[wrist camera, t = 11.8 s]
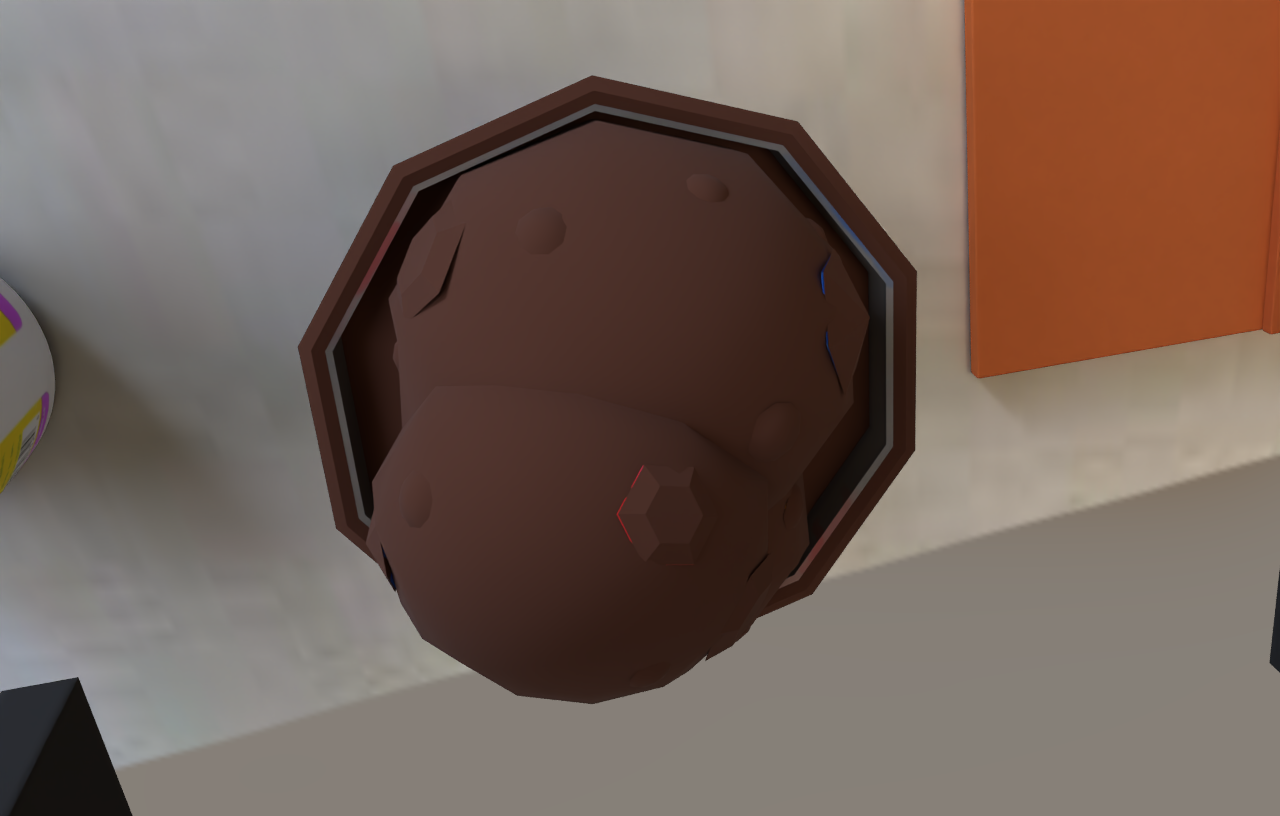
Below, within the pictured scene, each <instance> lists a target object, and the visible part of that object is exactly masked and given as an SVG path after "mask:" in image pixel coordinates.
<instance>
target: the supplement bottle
mask: <svg viewBox="0 0 1280 816" xmlns="http://www.w3.org/2000/svg"><path fill="white" fill-rule="evenodd" d="M54 395H55V373H54V366H53V361H52V355H51V352H50V349H49V346H48V343H47V340H46V338H45V336H44V334H43V332H42V329H41V327H40V325H39V324H38V322H37V320H36V318H35V317H34V315H33V314H32V312H31V310H30V309H29V308H28V306H27V305H26V303H25V302H24V301H23V300H22V299H21V297H20V296H19V295H18V294H17V293H16V292H15V291H14V290H13V289H12V288H11V287H10V286H9V285H8V284H7V283H6V282H5V281H4V280H3V279H2V278H0V493H1V492H2V491H3V490H4V488H5V487H6V486H7V485H8V483H9V482H10V481H11V479H12V478H13V477H14V476H15V475H16V473H17V472H18V471H19V470H20V468H21V467H22V466H23V464H24V463H25V462H26V460H27V459H28V457H29V456H30V454H31V453H32V451H33V450H34V449H35V447H36V446H37V444H38V442H39V441H40V439H41V437H42V436H43V434H44V431H45V429H46V427H47V424H48V422H49V419H50V416H51V412H52V408H53V403H54Z"/></svg>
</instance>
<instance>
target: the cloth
mask: <svg viewBox="0 0 1280 816" xmlns="http://www.w3.org/2000/svg"><path fill="white" fill-rule="evenodd" d="M965 55H966V109H967V164H968V218H969V273H970V328H971V372H972V374H974V375H975V376H976V377H977V378H984V377H990V376H996V375H1002V374H1007V373H1013V372H1019V371H1025V370H1030V369H1036V368H1042V367H1048V366H1053V365H1059V364H1065V363H1071V362H1076V361H1082V360H1088V359H1094V358H1099V357H1105V356H1111V355H1117V354H1122V353H1128V352H1134V351H1140V350H1145V349H1151V348H1157V347H1163V346H1168V345H1174V344H1180V343H1186V342H1192V341H1197V340H1203V339H1209V338H1215V337H1220V336H1226V335H1232V334H1238V333H1243V332H1249V331H1255V330H1261V329H1263V331H1265V332H1267V333H1269V334H1275V333H1280V0H965Z"/></svg>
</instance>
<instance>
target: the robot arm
mask: <svg viewBox="0 0 1280 816" xmlns="http://www.w3.org/2000/svg"><path fill="white" fill-rule="evenodd" d="M1270 664H1271V665H1273V666H1274V668H1276V669H1277V670H1278V671H1279V672H1280V572H1279V581H1278V590H1277V599H1276V609H1275V617H1274V627H1273V636H1272V646H1271V654H1270ZM0 816H132V813H131V811H130V808H129V806H128V803H127V801H126V798H125V796H124V793H123V790H122V788H121V785H120V783H119V780H118V778H117V775H116V773H115V770H114V767H113V765H112V762H111V760H110V757H109V755H108V752H107V750H106V747H105V744H104V742H103V739H102V737H101V734H100V732H99V729H98V727H97V724H96V722H95V719H94V716H93V714H92V711H91V709H90V706H89V704H88V701H87V699H86V696H85V693H84V691H83V688H82V686H81V683H80V681H79V678H78V677H77V678H72V679H66V680H61V681H55V682H50V683H44V684H39V685H33V686H28V687H22V688H17V689H11V690H6V691H2V692H1V693H0Z"/></svg>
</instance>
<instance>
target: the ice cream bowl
mask: <svg viewBox="0 0 1280 816" xmlns="http://www.w3.org/2000/svg"><path fill="white" fill-rule="evenodd" d="M916 299H917V271H916V270H915V269H914V267H913V266H912V265H911V264H910V262H909V261H908V260H907V258H906V257H905V256H904V255H903V253H902V252H901V251H900V250H899V248H898V247H897V246H896V245H895V243H894V242H893V241H892V240H891V238H890V237H889V236H888V235H887V233H886V232H885V231H884V229H883V228H882V227H881V226H880V224H879V223H878V222H877V221H876V219H875V218H874V217H873V216H872V214H871V213H870V212H869V211H868V209H867V208H866V207H865V206H864V204H863V203H862V202H861V200H860V199H859V198H858V197H857V195H856V194H855V193H854V192H853V190H852V189H851V188H850V187H849V185H848V184H847V183H846V182H845V180H844V179H843V178H842V177H841V175H840V174H839V173H838V171H837V170H836V169H835V168H834V166H833V165H832V164H831V163H830V161H829V160H828V159H827V158H826V156H825V155H824V154H823V153H822V151H821V150H820V149H819V148H818V146H817V145H816V144H815V142H814V141H813V140H812V139H811V137H810V136H809V135H808V134H807V132H806V131H805V130H804V129H803V127H802V126H801V125H800V124H799V122H797V121H793V120H788V119H784V118H779V117H775V116H770V115H766V114H762V113H757V112H753V111H748V110H744V109H739V108H735V107H730V106H726V105H722V104H717V103H713V102H708V101H704V100H699V99H695V98H690V97H686V96H681V95H677V94H673V93H668V92H664V91H659V90H655V89H650V88H646V87H641V86H637V85H633V84H628V83H624V82H619V81H615V80H610V79H606V78H601V77H597V76H590V77H587V78H585V79H583V80H581V81H579V82H576V83H574V84H572V85H570V86H568V87H565V88H563V89H561V90H559V91H557V92H554V93H552V94H550V95H548V96H546V97H543V98H541V99H539V100H537V101H535V102H532V103H530V104H528V105H526V106H524V107H521V108H519V109H517V110H515V111H513V112H510V113H508V114H506V115H504V116H502V117H499V118H497V119H495V120H493V121H491V122H488V123H486V124H484V125H482V126H480V127H478V128H475V129H473V130H471V131H469V132H467V133H464V134H462V135H460V136H458V137H456V138H453V139H451V140H449V141H447V142H445V143H442V144H440V145H438V146H436V147H434V148H431V149H429V150H427V151H425V152H423V153H420V154H418V155H416V156H414V157H412V158H409V159H407V160H405V161H403V162H401V163H398V164H396V165H394V166H393V167H392V169H391V171H390V173H389V175H388V177H387V178H386V180H385V182H384V184H383V186H382V188H381V190H380V192H379V194H378V196H377V197H376V199H375V201H374V203H373V205H372V207H371V209H370V211H369V213H368V215H367V216H366V218H365V220H364V222H363V224H362V226H361V228H360V230H359V232H358V234H357V235H356V237H355V239H354V241H353V243H352V245H351V247H350V249H349V251H348V253H347V254H346V256H345V258H344V260H343V262H342V264H341V266H340V268H339V270H338V272H337V273H336V275H335V277H334V279H333V281H332V283H331V285H330V287H329V289H328V291H327V292H326V294H325V296H324V298H323V300H322V302H321V304H320V306H319V308H318V310H317V311H316V313H315V315H314V317H313V319H312V321H311V323H310V325H309V327H308V329H307V330H306V332H305V334H304V336H303V338H302V340H301V342H300V344H299V346H298V350H299V354H300V359H301V364H302V369H303V373H304V378H305V383H306V388H307V392H308V397H309V402H310V407H311V411H312V416H313V421H314V426H315V430H316V435H317V440H318V445H319V449H320V454H321V459H322V464H323V468H324V473H325V478H326V483H327V487H328V492H329V497H330V502H331V506H332V511H333V516H334V521H335V525H336V529H337V530H338V531H340V532H341V533H342V534H343V535H344V536H346V537H347V538H348V539H349V540H350V541H351V542H353V543H354V544H355V545H356V546H357V547H359V548H360V549H361V550H362V551H363V552H365V553H366V554H367V555H368V556H369V557H370V558H372V559H373V560H374V561H375V562H376V563H378V565H379V566H380V568H381V570H382V571H383V573H384V574H385V576H386V578H387V579H388V581H389V583H390V584H391V586H392V588H393V589H394V591H395V592H396V590H397V593H398V596H399V599H400V602H401V604H402V606H403V607H404V609H405V611H406V612H407V614H408V616H409V617H410V619H411V621H412V622H413V624H414V626H415V627H416V629H417V631H418V632H419V634H420V636H421V637H422V639H424V640H425V641H427V642H429V643H430V644H432V645H433V646H435V647H437V648H438V649H440V650H441V651H443V652H445V653H446V654H448V655H449V656H451V657H453V658H454V659H456V660H457V661H459V662H461V663H462V664H464V665H466V666H467V667H469V668H471V669H472V670H474V671H476V672H478V673H479V674H481V675H483V676H485V677H486V678H488V679H490V680H491V681H493V682H495V683H497V684H498V685H500V686H502V687H503V688H505V689H507V690H509V691H511V692H512V693H514V694H515V695H517V696H526V697H535V698H544V699H552V700H561V701H570V702H579V703H588V704H595V703H599V702H603V701H607V700H611V699H615V698H620V697H624V696H627V695H632V694H635V693H640V692H644V691H648V690H652V689H656V688H660V687H664V686H665V685H667V684H669V683H670V682H672V681H673V680H675V679H676V678H678V677H680V676H681V675H683V674H685V673H686V672H688V671H689V670H690V669H691V668H693V667H694V666H695V665H696V664H697V663H698V662H699V661H700V660H702V659H703V658H704V657H705V656H706V655H707V657H706V660H708V659H709V658H711V657H713V656H715V655H717V654H718V653H720V652H722V651H724V650H726V649H727V648H729V647H731V646H732V645H733V644H734V643H735V642H736V641H738V640H739V639H740V638H741V637H742V636H744V635H745V634H746V633H747V632H748V631H749V629H750V627H751V625H752V624H753V623H754V621H755V620H756V618H758V617H761V616H763V615H765V614H768V613H770V612H772V611H775V610H777V609H779V608H782V607H784V606H786V605H788V604H791V603H793V602H795V601H798V600H800V599H802V598H804V597H807V596H809V595H812V594H813V592H814V591H815V590H816V588H817V587H818V585H819V584H820V583H821V581H822V580H823V578H824V577H825V576H826V574H827V573H828V571H829V570H830V569H831V567H832V566H833V564H834V563H835V562H836V560H837V559H838V557H839V556H840V555H841V553H842V552H843V550H844V549H845V548H846V546H847V545H848V543H849V542H850V541H851V539H852V538H853V536H854V535H855V534H856V532H857V531H858V529H859V528H860V527H861V525H862V524H863V522H864V521H865V520H866V518H867V517H868V515H869V514H870V513H871V511H872V510H873V508H874V507H875V506H876V504H877V503H878V501H879V500H880V499H881V497H882V496H883V494H884V493H885V492H886V490H887V489H888V487H889V486H890V485H891V483H892V482H893V480H894V479H895V478H896V476H897V475H898V473H899V472H900V471H901V469H902V468H903V466H904V465H905V464H906V462H907V461H908V459H909V458H910V457H911V455H912V454H913V452H914V451H915V407H916Z"/></svg>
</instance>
